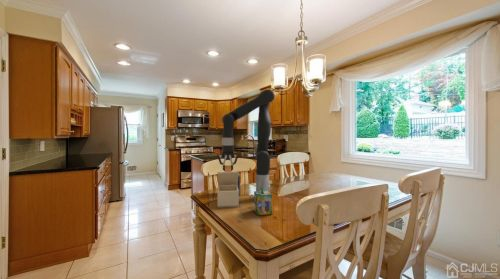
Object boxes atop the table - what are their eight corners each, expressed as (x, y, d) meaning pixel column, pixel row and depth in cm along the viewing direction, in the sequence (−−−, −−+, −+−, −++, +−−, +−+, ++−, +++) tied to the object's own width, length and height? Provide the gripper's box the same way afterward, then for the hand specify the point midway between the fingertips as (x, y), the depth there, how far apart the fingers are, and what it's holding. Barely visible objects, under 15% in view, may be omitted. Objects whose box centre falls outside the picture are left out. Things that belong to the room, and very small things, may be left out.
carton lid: (237, 184, 147) (237, 177, 152) (238, 172, 137) (238, 164, 141) (218, 185, 146) (218, 177, 150) (217, 172, 135) (217, 165, 140)
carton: (237, 199, 148) (237, 184, 148) (238, 206, 134) (238, 191, 133) (218, 199, 147) (218, 185, 147) (217, 207, 132) (217, 191, 132)
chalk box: (272, 214, 121) (272, 188, 121) (256, 215, 120) (256, 189, 119) (268, 208, 130) (268, 184, 130) (253, 209, 129) (253, 185, 128)
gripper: (238, 144, 145) (238, 169, 146) (217, 144, 144) (217, 170, 144) (239, 144, 138) (239, 171, 138) (216, 144, 136) (216, 172, 137)
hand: (227, 170), depth 141 cm, fingers closed on carton lid, 4 cm apart
